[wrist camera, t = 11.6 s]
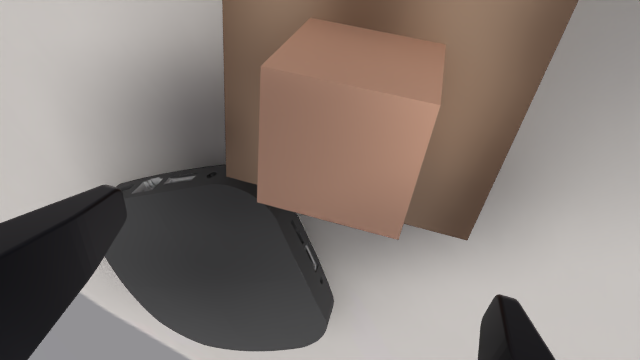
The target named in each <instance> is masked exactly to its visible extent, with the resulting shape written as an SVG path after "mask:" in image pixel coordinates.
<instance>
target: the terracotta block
mask: <svg viewBox="0 0 640 360" xmlns="http://www.w3.org/2000/svg"><path fill="white" fill-rule="evenodd" d="M445 50H446V44H441V43H436V42H431V41H426V40H421V39H416V38H411V37H406V36H401V35H396V34H391V33H386V32H380V31H375V30H370V29H365V28H360V27H355V26H350V25H345V24H340V23H335V22H330V21H325V20H320V19H315V18H310V19H308V20H307V21H306V22H305V23H304V24H303V25H302V26H301V27H300V28H299V29H298V30H297V31H296V32H295V33H294V34H293V35H292V36H291V37H290V38H289V39H288V40H287V41H286V42H285V43H284V44H283V45H282V46H281V47H280V48H279V49H278V50H277V51H276V52H275V53H274V54H273V55H271V56H270V57H269V58H268V59H267V60H266V61H265V62H264V63H263V64H262V65H261V72H260V109H259V146H258V183H257V202H258V203H262V204H266V205H269V206H273V207H277V208H281V209H284V210H288V211H292V212H296V213H299V214H303V215H307V216H311V217H314V218H318V219H322V220H326V221H329V222H333V223H337V224H341V225H344V226H348V227H352V228H356V229H360V230H363V231H367V232H371V233H375V234H378V235H382V236H386V237H390V238H393V239H397V240H398V239H399V236H400V233H401V230H402V227H403V223H404V220H405V217H406V214H407V211H408V208H409V204H410V201H411V198H412V195H413V192H414V188H415V185H416V182H417V179H418V176H419V173H420V169H421V166H422V163H423V160H424V157H425V153H426V150H427V147H428V144H429V141H430V138H431V134H432V131H433V128H434V125H435V122H436V118H437V115H438V112H439V109H440V106H441V95H442V84H443V73H444V61H445Z"/></svg>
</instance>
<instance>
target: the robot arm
mask: <svg viewBox="0 0 640 360" xmlns="http://www.w3.org/2000/svg"><path fill="white" fill-rule="evenodd" d="M126 218H127V210H126V206H125V201H124V196H123V192H122V191H121V189H119V188H116V187H113V186H109V185H102V186H99V187H96V188H93V189H91V190H88V191H85V192H83V193H80V194H77V195H74V196H72V197H69V198H66V199H64V200H61V201H58V202H56V203H53V204H50V205H48V206H45V207H42V208H40V209H37V210H34V211H32V212H29V213H26V214H24V215H21V216H18V217H16V218H13V219H10V220H8V221H5V222H2V223H0V360H28V358H29V357H30V356H31V355H32V353H33V352H34V351H35V349H36V348H37V347H38V345H39V344H40V343H41V341H42V340H43V339H44V338H45V336H46V335H47V334H48V332H49V331H50V330H51V328H52V327H53V326H54V325H55V323H56V322H57V321H58V319H59V318H60V317H61V315H62V314H63V313H64V312H65V310H66V309H67V308H68V306H69V305H70V304H71V302H72V301H73V300H74V299H75V297H76V296H77V295H78V293H79V292H80V291H81V289H82V288H83V287H84V285H85V284H86V283H87V282H88V280H89V279H90V277H91V276H92V275H93V273H94V272H95V270H96V269H97V267H98V266H99V264H100V263H101V261H102V259H103V258H104V256H105V254H106V253H107V251H108V250H109V248H110V246H111V245H112V243H113V241H114V240H115V238H116V236H117V235H118V233H119V232H120V230H121V228H122V227H123V225H124V223H125V221H126ZM478 360H555V358H554V357H553V355H552V353H551V352H550V350H549V349H548V347H547V346H546V344H545V342H544V341H543V339H542V338H541V336H540V335H539V333H538V331H537V330H536V328H535V327H534V325H533V323H532V322H531V320H530V319H529V317H528V316H527V314H526V312H525V311H524V309H523V308H522V306H521V305H520V303H519V302H518V301H517V300H516V299H514V298H511V297H507V296H503V295H496V296H495V297H494V299H493V300H492V302H491V304H490V305H489V307H488V309H487V311H486V312H485V314H484V316H483V318H482V321H481V327H480V339H479V351H478Z"/></svg>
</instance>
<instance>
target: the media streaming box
mask: <svg viewBox="0 0 640 360" xmlns="http://www.w3.org/2000/svg"><path fill="white" fill-rule="evenodd" d="M193 173H194V174H193ZM186 174H187V175H186ZM179 175H180V176H179ZM116 188H119V189H121V191H122V192H123V196H124V201H125V206H126V210H127V218H126V221H125V223H124V225H123V227H122V228H121V230H120V232H119V233H118V235H117V236H116V238H115V240H114V241H113V243H112V245H111V246H110V248H109V250H108V251H107V253H106V254H105V258H106V259H107V261H108V263H109V264H110V266H111V267H112V269H113V270H114V272H115V273H116V275H117V276H118V277H119V279H120V280H121V282H122V283H123V284H124V285H125V287H126V288H127V289H128V290H129V292H130V293H131V294H132V295H133V296H134V297H135V299H136V300H137V301H138V302H139V303H140V304H141V305H142V306H143V307H144V308H145V309H146V310H147V311H148V312H149V313H150V314H151V315H152V316H153V317H155V318H156V319H157V320H158V321H159V322H161V323H162V324H164V325H165V326H167V327H168V328H170V329H172V330H173V331H175V332H177V333H179V334H180V335H182V336H184V337H186V338H189V339H191V340H193V341H195V342H198V343H201V344H203V345H207V346H211V347H216V348H222V349H229V350H239V351H277V350H287V349H295V348H302V347H305V346H308V345H310V344H313V343H314V342H316V341H318V340H319V339H320V338H321V337H322V336H323V335H324V333H325V331H326V329H327V325H328V322H329V318H330V315H331V311H332V308H333V302H334V300H333V295H332V292H331V290H330V287H329V284H328V282H327V279H326V277H325V274H324V272H323V270H322V267H321V265H320V263H319V260H318V258H317V256H316V253H315V251H314V249H313V247H312V245H311V243H310V241H309V238H308V236H307V234H306V232H305V230H304V228H303V226H302V224H301V222H300V220H299V218H298V216H297V214H296V212H292V211H288V210H284V209H281V208H277V207H273V206H269V205H266V204H262V203H258V202H257V185H256V184H253V183H249V182H245V181H241V180H238V179H234V178H230V177H226V165H220V166H211V167H203V168H196V169H189V170H183V171H177V172H171V173H166V174H160V175H156V176H151V177H146V178H142V179H138V180H133V181H129V182H126V183H122V184H120V185H118V186H117V187H116Z"/></svg>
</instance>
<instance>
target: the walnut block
mask: <svg viewBox="0 0 640 360" xmlns="http://www.w3.org/2000/svg"><path fill="white" fill-rule="evenodd" d="M577 2H578V0H222V4H223V49H224V95H225V140H226V177H230V178H234V179H238V180H241V181H245V182H249V183H253V184H256V185H257V183H258V146H259V109H260V72H261V65H262V64H263V63H264V62H265V61H266V60H267V59H268V58H269V57H270V56H271V55H273V54H274V53H275V52H276V51H277V50H278V49H279V48H280V47H281V46H282V45H283V44H284V43H285V42H286V41H287V40H288V39H289V38H290V37H291V36H292V35H293V34H294V33H295V32H296V31H297V30H298V29H299V28H300V27H301V26H302V25H303V24H304V23H305V22H306V21H307V20H308V19H310V18H315V19H320V20H325V21H330V22H335V23H340V24H345V25H350V26H355V27H360V28H365V29H370V30H375V31H380V32H386V33H391V34H396V35H401V36H406V37H411V38H416V39H421V40H426V41H431V42H436V43H441V44H446V50H445V61H444V73H443V84H442V95H441V106H440V109H439V112H438V115H437V118H436V122H435V125H434V128H433V131H432V134H431V138H430V141H429V144H428V147H427V150H426V153H425V157H424V160H423V163H422V166H421V169H420V173H419V176H418V179H417V182H416V185H415V188H414V192H413V195H412V198H411V201H410V204H409V208H408V211H407V214H406V217H405V220H404V224H407V225H411V226H415V227H419V228H422V229H426V230H430V231H434V232H437V233H441V234H445V235H449V236H453V237H456V238H460V239H464V240H468V238H469V235H470V233H471V231H472V229H473V227H474V225H475V223H476V220H477V218H478V216H479V214H480V212H481V210H482V207H483V205H484V203H485V201H486V199H487V197H488V194H489V192H490V190H491V188H492V186H493V184H494V182H495V179H496V177H497V175H498V173H499V171H500V169H501V166H502V164H503V162H504V160H505V158H506V156H507V153H508V151H509V149H510V147H511V145H512V143H513V141H514V138H515V136H516V134H517V132H518V130H519V128H520V125H521V123H522V121H523V119H524V117H525V115H526V112H527V110H528V108H529V106H530V104H531V102H532V100H533V97H534V95H535V93H536V91H537V89H538V87H539V84H540V82H541V80H542V78H543V76H544V74H545V71H546V69H547V67H548V65H549V63H550V61H551V59H552V56H553V54H554V52H555V50H556V48H557V46H558V43H559V41H560V39H561V37H562V35H563V33H564V30H565V28H566V26H567V24H568V22H569V20H570V18H571V15H572V13H573V11H574V9H575V7H576V5H577Z"/></svg>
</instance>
